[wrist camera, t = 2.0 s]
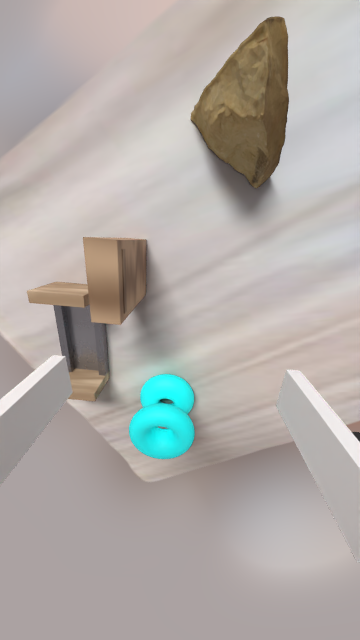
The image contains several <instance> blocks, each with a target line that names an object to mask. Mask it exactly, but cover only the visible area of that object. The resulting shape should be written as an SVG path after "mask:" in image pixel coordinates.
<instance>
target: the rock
mask: <svg viewBox="0 0 360 640" xmlns="http://www.w3.org/2000/svg"><path fill="white" fill-rule="evenodd" d="M287 82H288V34H287V28H286V25H285V20H284V18H282V17H270V18H268V19H266V20H265V21H263V22H262V23H260V24H259V25H258V27H257V28H256V29H255V31H254V32H253V33H252V34H251V35H250V36H249V37H248V38H247V39H246V40H244V41H243V42H242V43H241V44H240V46H239V47H238V49H237V50H236V51H235V52H234V53H233V54H232V55H231V56H230V57H229V58H228V60H227V61H226V62H225V64H224V65H223V67H222V68H221V70H220V71H219V72H218V73H217V75H216V77H215V78H214V79H213V80H212V81H211V83H210V84H208V85H207V86H206V87H205V89H204V91H203V93H202V95H201V97H200V99H199V102H198V103H197V104H196V105H195V107H194V110H193V112H192V113H191V120H192V121H193V122H194V123H195V124H196V125H197V127H198V129H199V131H200V132H201V134H202V135H203V138H204V140H205V142H206V143H207V145H208V148H209V149H211V150H212V151H213V152H214V153H215V154H216V155H217V156H218V158H220V159H222V160H223V161H224V162H225V163H229V164H230V165H231V166H232V167H233V168H234V169H235V170H236V171H238V172H240V173H242V174H244V175H245V176H246V178H247V179H248V181H249V182H250V184H251V185H252V186H253V187H255V188H258V187H259V186H260V185H262V184H263V183H264V182H265V181H266V180H267V179H268V178H269V177H270V176H271V175H272V173H273V172H274V171H275V168H276V167H277V165H278V163H279V160H280V154H281V150H282V147H283V145H284V142H285V128H286V123H287V112H288V104H289V96H288V90H287Z"/></svg>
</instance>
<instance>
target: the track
mask: <svg viewBox="0 0 360 640" xmlns="http://www.w3.org/2000/svg"><path fill="white" fill-rule="evenodd" d="M54 311H55V317H56V323H57V328H58V334H59V340H60V346H61V351H62V356H65V357H66V362H67V366H68V371H69V372H72V371H73V370H74V369H75V368H76V369H86V370H96V371H99V375H103V376H106V374H107V373H108V371H109V367H108V353H107V339H106V326H105V323H96V322H91V313H90V305H88V306H86V307H85V308H82V307H71V306H60V305H54Z"/></svg>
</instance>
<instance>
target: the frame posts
mask: <svg viewBox="0 0 360 640" xmlns="http://www.w3.org/2000/svg"><path fill="white" fill-rule="evenodd" d="M27 294H28V298H29V303H38V304H49V305H60V306H71V307H82V308H85V307H86V306H88V305H90V303H89V293H88V285H87V284H76V283H64V282H54V283H51V284H47V285H44V286H41V287H38V288H35V289H31V290H28V291H27ZM69 376H70V381H71V386H72V391H73V393H72V394H71V395H70V397H69V398H68V399H76V400H86V401H96V399H97V397H98V396H99V394H100V392H101V391H102V389H103V387H104V386H105V384H106V382H107V381H108V379H109V371H108V373H107V374H106V376H103V375H99V371H96V370H86V369H76V368H75V369H74V370H73V371H72V372H69Z"/></svg>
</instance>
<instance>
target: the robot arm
mask: <svg viewBox="0 0 360 640" xmlns="http://www.w3.org/2000/svg"><path fill="white" fill-rule="evenodd" d="M72 393H73V391H72V386H71V381H70V376H69V371H68V366H67V362H66V357H65V356H56V355H53V356H52V357H50V358H49V359H48V360H47V361H46V362H44V363H43V364H42V365H41V366H40V367H38V368H37V369H36V370H35V371H34V372H32V373H31V374H30V375H29V376H28V377H27V378H25V379H24V380H23V381H22V382H21V383H20V384H18V385H17V386H16V387H15V388H13V389H12V390H11V391H10V392H9V393H8V394H6V395H5V396H4V397H3V398H2V399H0V486H1V484H2V483H3V482H4V481H5V479H6V478H7V477H8V475H9V474H10V473H11V471H12V470H13V469H14V468H15V466H16V465H17V464H18V462H19V461H20V460H21V458H22V457H23V456H24V455H25V453H26V452H27V451H28V450H29V448H30V447H31V446H32V444H33V443H34V442H35V440H36V439H37V438H38V436H39V435H40V434H41V433H42V431H43V430H44V429H45V428H46V426H47V425H48V423H49V422H50V421H51V420H52V419H53V417H54V416H55V415H56V413H57V412H58V411H59V409H60V408H61V407H62V406H63V404H64V403H65V402H66V400H67V399H68V398H69V397H70V395H71V394H72ZM276 407H277V409H278V411H279V413H280V415H281V417H282V419H283V421H284V422H285V424H286V426H287V428H288V430H289V432H290V434H291V436H292V438H293V440H294V442H295V444H296V446H297V448H298V450H299V451H300V453H301V455H302V457H303V459H304V461H305V463H306V465H307V467H308V469H309V471H310V473H311V474H312V476H313V479H314V480H315V482H316V484H317V486H318V488H319V490H320V492H321V494H322V496H323V498H324V500H325V502H326V504H327V506H328V508H329V509H330V511H331V513H332V515H333V517H334V519H335V521H336V522H337V525H338V527H339V529H340V531H341V533H342V534H343V537H344V538H345V540H346V542H347V544H348V546H349V548H350V550H351V552H352V554H353V556H354V558H355V560H356V562H360V433H359V432H351V431H350V430H349V429H348V427H347V426H346V425H345V424H344V423H343V422H342V420H341V419H340V418H339V417H338V416H337V414H336V413H335V412H334V411H333V410H332V408H331V407H330V406H329V405H328V404H327V402H326V401H325V400H324V399H323V398H322V397H321V395H320V394H319V393H318V392H317V391H316V389H315V388H314V387H313V386H312V385H311V383H310V382H309V381H308V380H307V379H306V377H305V376H304V375H303V374H302V373H301V372H300V370H286V372H285V376H284V379H283V383H282V386H281V390H280V393H279V397H278V400H277V404H276Z"/></svg>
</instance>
